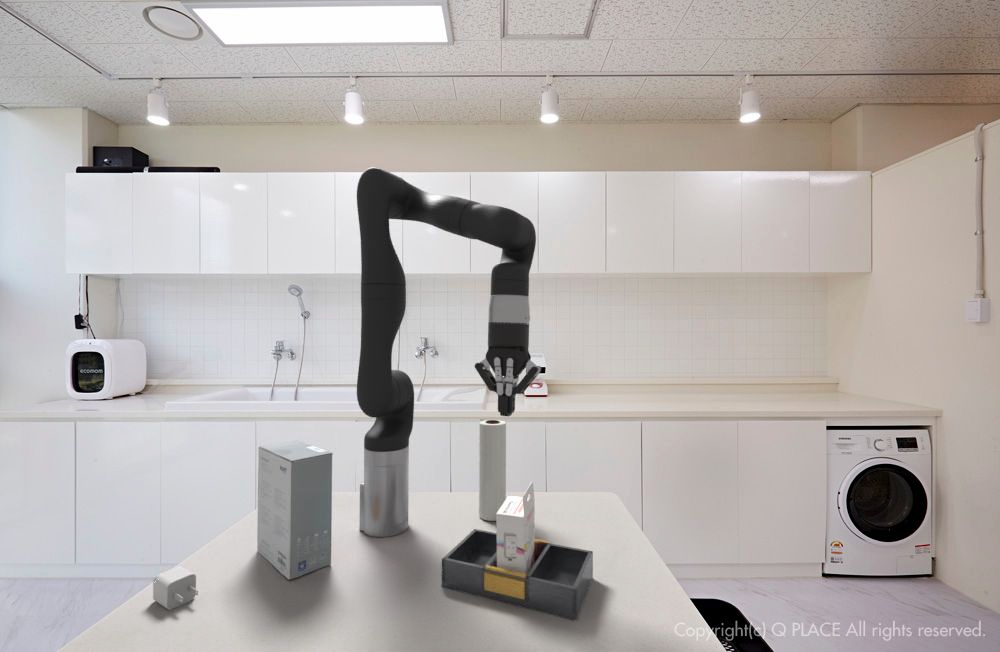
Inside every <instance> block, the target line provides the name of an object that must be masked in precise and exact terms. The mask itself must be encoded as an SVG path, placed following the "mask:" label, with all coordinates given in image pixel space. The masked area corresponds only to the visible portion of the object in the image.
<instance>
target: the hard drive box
mask: <svg viewBox="0 0 1000 652" xmlns="http://www.w3.org/2000/svg"><path fill="white" fill-rule="evenodd" d="M257 465H258V469H257V471H258V473H257V478H258V479H257V533H256V535H257V539H256V540H257V541H256V542H257V546H256V547H257V552H258V553H259V554H260V555H261V556H263V558H264V559H265V560H267V562H269V563H270V564H271V565H272V566H273V567H274V568H276V570H277V571H278V572H279V573H280V574H281V575H282V576H284V577H285V578H286V579H287V580H288V581H289V580H294V579H296V578H298V577H301V576H304V575H306V574H308V573H311V572H314V571H317V570H319V569H322V568H324V567H326V566H330V565H332V525H333V524H332V520H333V519H332V516H333V515H332V513H333V512H332V511H333V510H332V507H333V506H332V505H333V503H332V502H333V501H332V499H333V498H332V497H333V496H332V495H333V493H332V492H333V452H331V451H329V450H326V449H323V448H320V447H317V446H315V445H311V444H309V443H307V442H306V443H305V442H302V441H299V440H296V439H295V440H290V441H285V442H277V443H273V444H267V445H260V446H259V447H258V463H257Z"/></svg>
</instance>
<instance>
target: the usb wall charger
mask: <svg viewBox="0 0 1000 652" xmlns="http://www.w3.org/2000/svg"><path fill="white" fill-rule="evenodd" d="M168 572H169V573H168ZM167 573H168V574H167ZM165 574H166V575H165ZM158 579H159V580H158ZM155 581H156V582H155ZM154 582H155V583H154ZM152 584H153V585H152V599H153V601H155V602H156V603H158V604H159V605H161V606H162V607H164V609H165V608H166V609H167V610H169V611H170V610H172V609H175V608H177V607H179V606H181V605H184V604H185V603H187V602H188V603H189V602H190V601H192V600H193V599H194V598H195V597H196V596H199V591H198V590H197V575H196V573H193V572H192V571H190V570H187V569H186V568H184V567H182V566H180V565H179V566H175V567H173V568H170V569H169V570H165V571H164V572H160V573H158V574H157V575H156V576H155V577H154V578H153V580H152Z"/></svg>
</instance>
